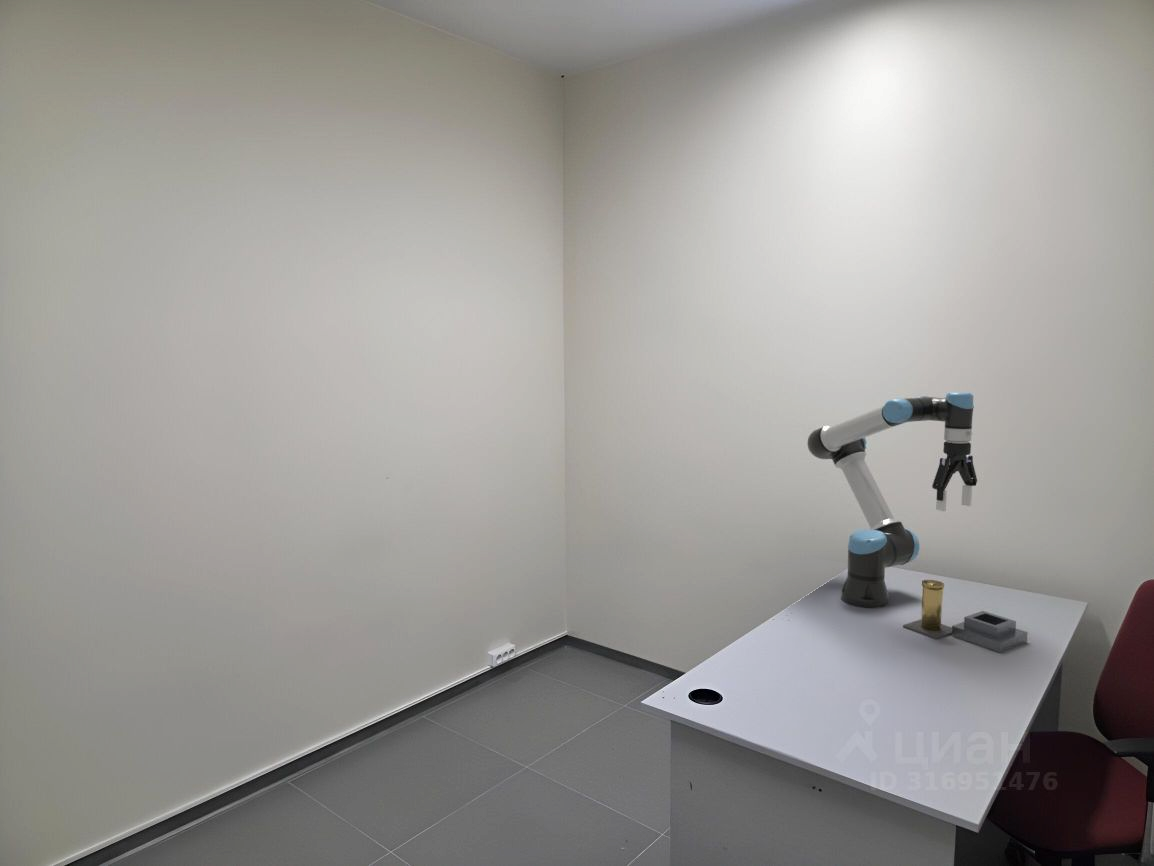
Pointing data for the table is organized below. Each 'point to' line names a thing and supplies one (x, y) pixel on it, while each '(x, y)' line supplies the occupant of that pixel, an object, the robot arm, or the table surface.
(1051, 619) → the table surface
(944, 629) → the mat
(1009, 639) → the housing
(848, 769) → the table surface
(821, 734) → the table surface
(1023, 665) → the table surface
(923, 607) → the brass flared knob
